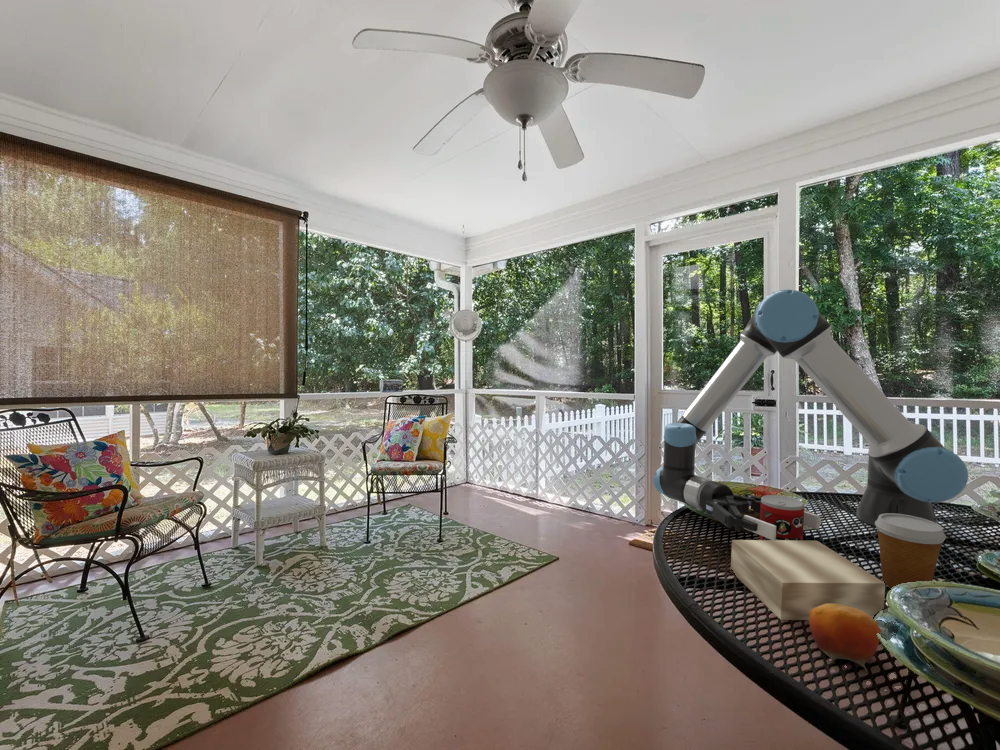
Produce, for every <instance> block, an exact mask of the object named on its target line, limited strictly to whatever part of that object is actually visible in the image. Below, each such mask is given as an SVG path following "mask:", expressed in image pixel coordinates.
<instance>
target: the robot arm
mask: <svg viewBox="0 0 1000 750" xmlns="http://www.w3.org/2000/svg"><path fill="white" fill-rule="evenodd" d="M832 328H833V326H832V325H831V323H829V322H828V321H827V319H826V318H825V316H823V315H822V314H821V313H820V312H819V308H818V305H817V304H816V302H815V301H814V300H813V298H812V297H811V296H809V295H808V294H806V293H805V292H802V291H799V290H796V289H780V290H776V291H773V292H771V293H770V294H768V295H766V296H765V297H764V298H763V299H762V300H761V301H760V302H759V303H758V304H757V306H756V307H755V309H754V311H753V314H752V315H751V317H750V319H749V321H748V322H747V324H746V326H745V328H744V329H743V330H742V331H741V332H740V334H739V337H740V341H739V342H738V343H737V344H736V346H735V347H734V348H733V350H732V351H731V352H730V353H729V355H728V356H727V357H726V359H725V360H724V361H723V362H722V364H721V365H720V366H719V368H718V369H717V370H715V373H714V374H713V375H712V377H711V378H710V379H709V380H708V381H707V383H706V384H705V385H704V386H703V388H702V389H701V391H700V392H699V393H698V395H696V397H695V398H694V400H693V401H692V402H691V403H690V405H689V406H688V407H687V409H685V412H684V413H683V414H682V416H681V417H680V418H679V419H678V421H676V422H671V423H668V424H666V425H665V427H664V433H663V434H664V435H663V466H661V467H659V468H658V469H656V471H655V475H654V476H653V480H652V481H653V487H654V489H655V490H656V491H657V492H658V493H660V494H661V495H663V496H665V497H667V498H668V499H672V500H675V501H677V502H680V503H684V504H685V505H688V506H691V507H693V508H696V511H704V512H706V513H707V514H710V515H712V516H713V517H714V518H715V519H716V520H718V521H719V522H720V523H721V524H722V525H723V526H725V527H726V528H728V529H733V528H734V531H736V532H742V529H744V530H746V531H749V532H752V533H754V534H756V535H761V536H764V537H766V538H769V539H771V540H776V526H775V525H772V524H770V523H767V522H764V521H761V520H760V518H759V519H758V518H756V517H753V516H750V515H755V513H757V514H760V508H761V498H762V497H763V496H756V495H753V494H751V493H750V494H749V493H744V496H743V495H741V494H734V493H733V491H732V489H731V487H729V486H728V485H726V484H724V483H721V482H718V481H714V480H712V479H709V478H706V477H702V476H700V475H696V474H695V469H696V467H695V466H696V465H695V462H696V461H695V460H696V449H697V448H696V447H697V444H698V443H699V442H700V440H701V439H702V438H703V437H704V436H705V434H706V433H707V431H708V430H709V429H710V428H711V427H712V426H713V424H714V423H715V422H716V420H717V419H718V418H719V417H720V415H721V414H722V413H723V412H724V410H725V409H726V408H727V407H728V405H729V404H730V403H731V402H732V401H733V400H734V398H736V396H737V394H738V393H739V392H740V391H741V389H743V387H744V386H745V384H746V383H747V382H748V381H749V380H750V378H751V377H752V376H753V375H754V374H755V372H756V371H758V368H759V367H760V366H761V365H762V363H764V361H765V360H766V359H767V357H772V356H775V354H776V353H778V354H779V355H780V357H782V358H783V359H788V360H793V361H795V362H796V364H797V365H798V366H799V367H800V368H801V369H802V370H803V371H804V373H806V374H807V375H808V376H809V378H810V379H811V380H812V382H814V384H815V385H816V386H817V387H818V388H819V389H820V390H821V391H822V393H824V395H825V396H826V397H827V398H828V399H829V400H830V401H831V403H833V405H834V406H835V407H836V408H837V410H839V411H840V412H841V414H842V415H843V416H844V417H845V418H846V419H847V420H848V422H849V423H850V424H851V425H852V426H853V427H854V428H855V429H856V430H857V431H858V433H859V434H860V435H861V436H862V437H863V438H864V440H865V441H866V442H867V443H868V444H869V446H868V451H867V452H868V453H867V454H868V465H867V466H868V467H867V469H868V470H867V483H866V487H865V488H866V489H865V491H864V492H863V495H862V497H861V499H860V501H859V503H858V505H857V507H856V518H857V519H859V520H860V521H861V522H864V523H865V524H868V525H870V526H874V527H876V525H875V521H876V520H877V519H878V516H879V515H880V514H885V513H895V514H904V515H910V516H915V517H919V518H923V519H926V520H929V521H932V522H935V523H937V524H939V520H938V518H937V516H936V513H935V509H934V505H933V503H941V502H946V501H949V500H951V499H954V498H955V497H957V496H959V495H960V494H961V493H962V491H964V489H966V486H967V483H968V480H969V471H968V466H967V465H966V463H965V462H964V461H963V460H962V458H961V457H960V456H959V455H958V454H956V453H954V451H952V450H949V449H948V448H946V447H945V446H944V445H943V444H942V443H941V442H940V441H939V440H938V439H937V437H935V435H934V433H933V432H932V431H931V430H929V429H928V428H927V427H926V425H924V424H919V423H912V422H910V421H909V420H908V419H907V417H906V416H904V414H903V413H902V412H901V411H900V410H899V409H898V408H897V406H895V405H894V403H893V402H892V401H891V400H890V399H889V398H888V397H887V396H886V395H885V393H884V392H883V391H882V390H881V389H880V388H879V387H878V386H877V385H876V384H875V383H874V382H873V381H872V380H871V378H870V377H869V376H868V375H867V374H866V373H865V372H864V371H863V370H862V369H861V368H860V367H859V366H858V365H857V363H856V362H855V361H854V360H853V359H852V357H850V356H849V354H848V353H847V352H846V351H845V350H844V349H843V348H842V347H841V346H840V345H839V343H838V342H837V341H835V339H834V338H833V337H832V336H831V335H832V334H831V333H832ZM697 485H698V486H697ZM749 506H751V507H749ZM750 509H753V510H754V511H748V510H750ZM742 514H744V515H742ZM747 514H749V515H747ZM803 526H806V527H808V528H812V529H815V530H819V529H820V515H818V514H815V513H811V512H809V511H807V510H806V511H805V510H804V524H803Z"/></svg>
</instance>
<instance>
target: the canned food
mask: <svg viewBox="0 0 1000 750" xmlns="http://www.w3.org/2000/svg"><path fill="white" fill-rule="evenodd" d="M761 497H762V498H761V508H760V513H759V520H761V521H764V522H767V523H770V524H772V525H775V526H776V540H803V539H804V537H803V536H804V525H803V524H804V511H805V503H804V502H803V501H801V500H799V499H797V498H794V497H791V496H787V495H781V494H766V495H762V496H761ZM758 535H759V534H758ZM758 540H771V539H769V538H766V537H764V536H761V535H759V536H758Z"/></svg>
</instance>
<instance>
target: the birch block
mask: <svg viewBox="0 0 1000 750" xmlns="http://www.w3.org/2000/svg"><path fill="white" fill-rule="evenodd" d="M730 552H731V553H730V555H731V556H730V557H731V558H730V570H731V569H732V570H733V571H734V573H735V575H736V576H737V579H738V580H739V581H740V582H741V583H742V584H743V585H745V587H747V588H748V590H750V592H752V594H753V595H754V596H755V597H756V598H757V599H759V600H760V601H761V602H762V603H763V605H765V606H766V607H767V608H768V609H769V610H770V611H771V612H772V613H773V614H774V615H775V616H776V617H777V618H778V619H779V620H780V621H789V620H790V621H810V613H809V612H810V611H811V610H812V609H813V608H815V607H818V606H820V605H823V604H828V603H829V604H830V603H832V604H841V605H844V606H848V607H853V608H856V609H859V610H861V611H864V612H865V613H866V614H868V615H869V616H871V617H872V618H873V617H874V615H875V614H876V613H877V612H878V611H880V610H882V609H884V610H885V608H884V607H885V595H886V586H885V583H884V582H883V581H882V580H881V579H880V578H878V577H876V576H874V575H873V574H871V573H869V572H868V571H867V570H865V569H863V568H861V566H859V565H857V564H855V563H854V562H852V561H850V560H849V559H847V558H846V557H844V556H842V555H841V554H839V553H837V552H836V551H834V550H833V549H831V548H829V547H828V546H826V545H825V544H823V543H821V542H820V541H818V540H759V539H756V540H755V539H731V551H730ZM735 575H734V576H735ZM736 576H735V577H736Z"/></svg>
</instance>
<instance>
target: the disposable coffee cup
mask: <svg viewBox="0 0 1000 750" xmlns="http://www.w3.org/2000/svg"><path fill="white" fill-rule="evenodd" d="M875 525H876V526H875V528H876V530H877V535H878V547H879V558H880V568H881V579H882V580H883V581H884V582H885V583H886V584H887V585H888V586H889V588H892V587H893V586H896V585H898V584H901V583H907V582H916V581H932V582H933V579H934V576H935V571H936V568H937V563H938V561H939V560H938V559H939V556H940V551H941V548H942V544H943V543H944V541H945V540H946V539H947V535H946V534H945V532H944V528H943V526H942V525H940V524H939V523H938V524H937V523H935V522H932V521H929V520H926V519H923V518H919V517H915V516H910V515H904V514H895V513H885V514H880V515H879V516H878V519H877V520H876V521H875ZM882 580H881V581H882ZM889 588H888V589H889Z"/></svg>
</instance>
